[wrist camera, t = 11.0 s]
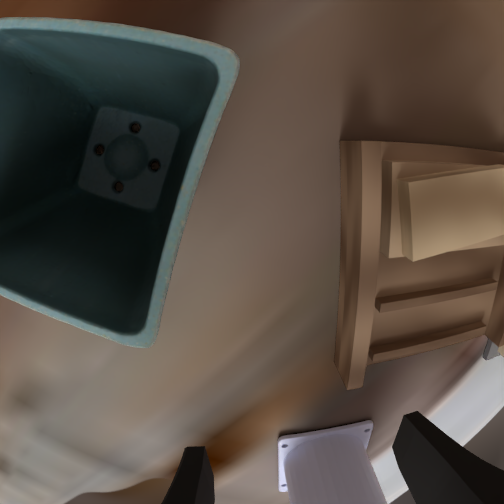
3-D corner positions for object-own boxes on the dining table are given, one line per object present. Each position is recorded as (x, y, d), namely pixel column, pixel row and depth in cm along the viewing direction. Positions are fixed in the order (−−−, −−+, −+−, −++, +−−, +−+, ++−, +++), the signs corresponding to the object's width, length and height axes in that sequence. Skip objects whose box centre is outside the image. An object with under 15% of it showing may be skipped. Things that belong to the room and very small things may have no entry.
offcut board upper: (500, 226, 16) (512, 231, 15) (402, 253, 16) (412, 261, 15) (499, 164, 15) (512, 166, 14) (396, 179, 15) (408, 182, 14)
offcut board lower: (497, 238, 18) (508, 244, 17) (379, 251, 17) (388, 258, 16) (503, 167, 16) (515, 169, 15) (381, 160, 16) (392, 161, 14)
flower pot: (237, 99, 15) (248, 49, 7) (184, 257, 18) (152, 357, 9) (85, 63, 14) (-14, 17, 5) (46, 212, 16) (-57, 267, 8)
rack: (485, 326, 21) (506, 344, 18) (334, 361, 21) (347, 390, 18) (510, 153, 17) (539, 158, 14) (339, 140, 16) (361, 140, 13)
